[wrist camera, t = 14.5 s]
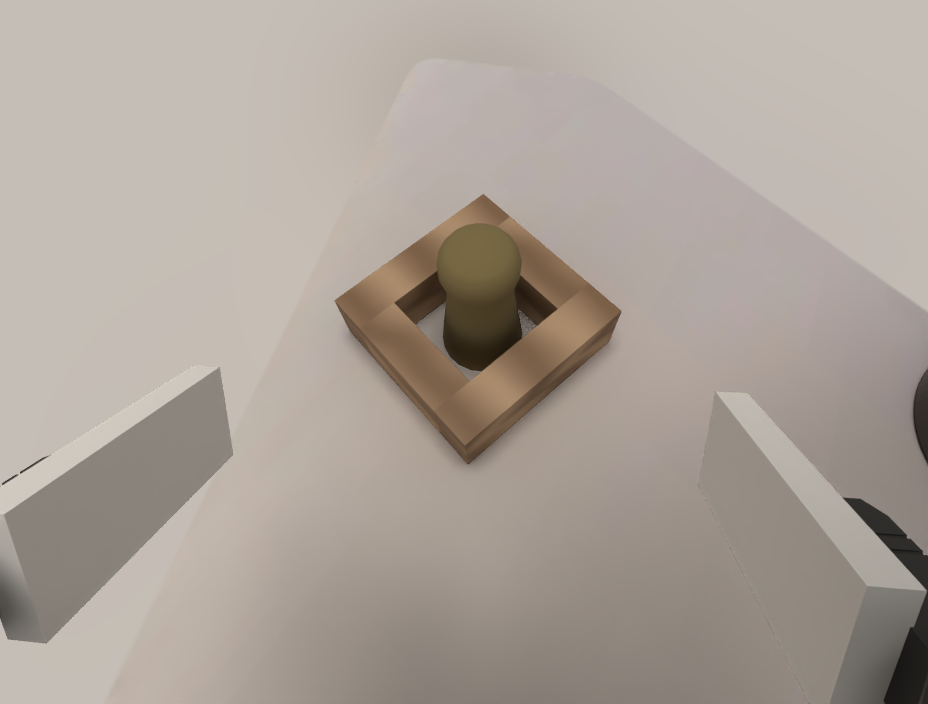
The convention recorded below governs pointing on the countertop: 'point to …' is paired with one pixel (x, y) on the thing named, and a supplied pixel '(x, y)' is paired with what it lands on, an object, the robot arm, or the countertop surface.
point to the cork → (479, 294)
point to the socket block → (511, 375)
